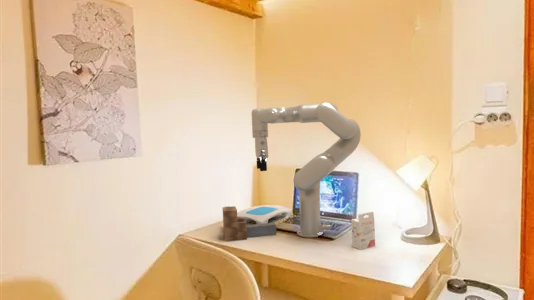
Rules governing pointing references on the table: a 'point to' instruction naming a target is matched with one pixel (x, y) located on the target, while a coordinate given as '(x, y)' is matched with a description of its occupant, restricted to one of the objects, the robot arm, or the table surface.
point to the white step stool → (264, 214)
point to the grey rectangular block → (261, 230)
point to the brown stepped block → (233, 225)
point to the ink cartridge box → (363, 231)
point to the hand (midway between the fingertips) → (261, 169)
